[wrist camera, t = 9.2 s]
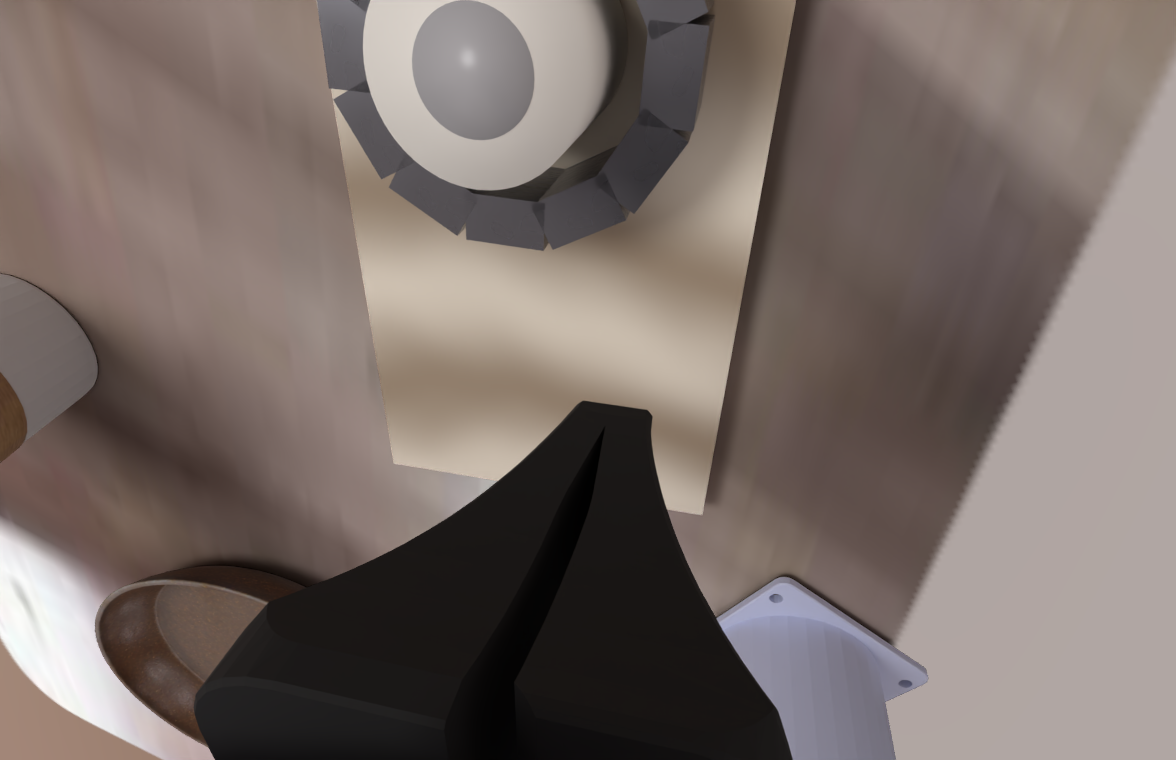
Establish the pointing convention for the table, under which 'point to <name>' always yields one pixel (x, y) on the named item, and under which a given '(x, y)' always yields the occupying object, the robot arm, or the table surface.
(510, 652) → the robot arm
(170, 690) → the plant saucer
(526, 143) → the white cylinder
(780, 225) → the table surface
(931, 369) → the table surface
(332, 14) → the dark grey segmented ring
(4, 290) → the coffee cup
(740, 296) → the mount plate
